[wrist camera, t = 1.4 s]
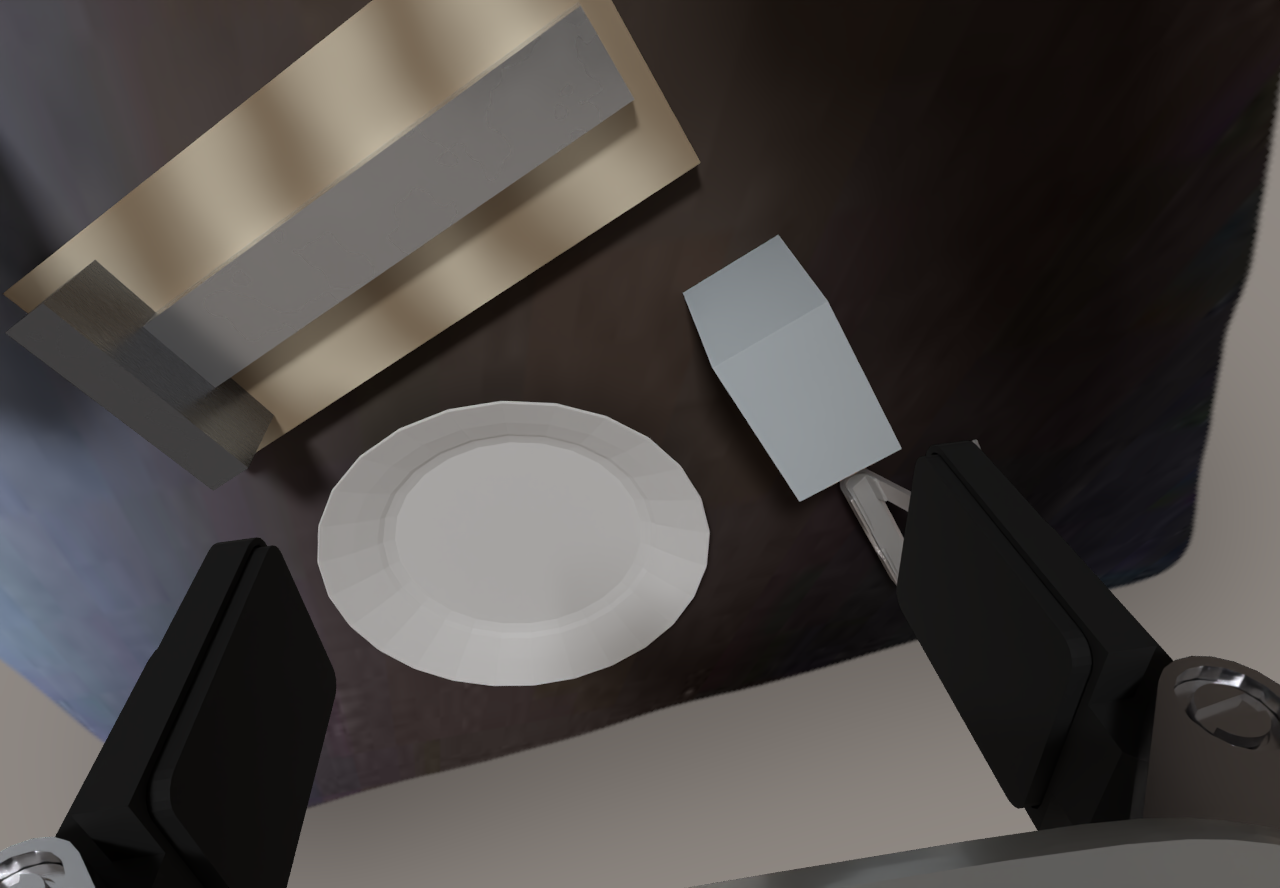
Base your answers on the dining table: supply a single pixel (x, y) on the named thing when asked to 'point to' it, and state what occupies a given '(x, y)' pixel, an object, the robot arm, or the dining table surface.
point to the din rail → (317, 254)
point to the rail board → (337, 141)
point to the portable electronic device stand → (878, 513)
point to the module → (790, 369)
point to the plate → (513, 543)
